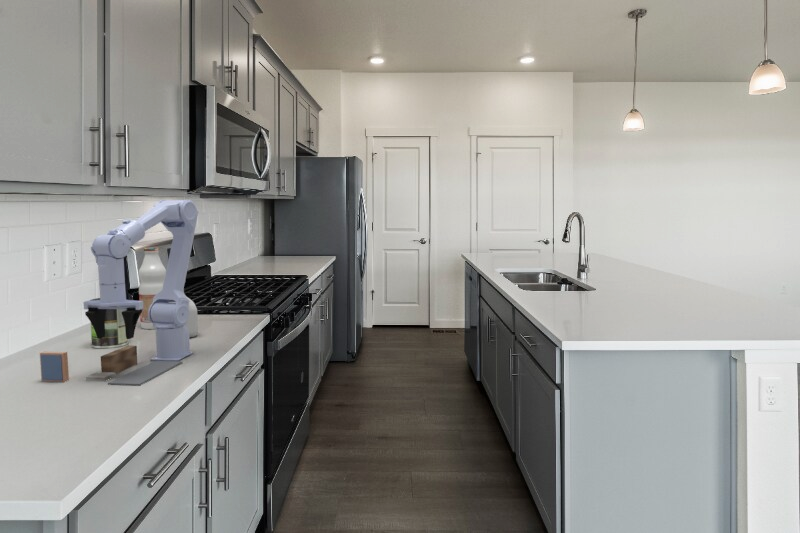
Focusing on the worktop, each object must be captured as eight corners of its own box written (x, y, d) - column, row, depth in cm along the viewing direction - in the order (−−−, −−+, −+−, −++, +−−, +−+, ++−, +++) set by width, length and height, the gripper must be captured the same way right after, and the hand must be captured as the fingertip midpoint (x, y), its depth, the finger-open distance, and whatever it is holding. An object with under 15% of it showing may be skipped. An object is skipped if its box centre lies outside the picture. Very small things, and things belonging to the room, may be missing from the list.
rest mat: (154, 362, 164) (154, 360, 164) (182, 362, 163) (182, 361, 163) (107, 384, 143) (107, 382, 143) (139, 385, 142) (139, 383, 142)
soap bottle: (189, 332, 203) (186, 265, 201) (200, 337, 196) (197, 267, 194) (160, 336, 197) (156, 266, 195) (170, 341, 190) (167, 269, 188)
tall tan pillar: (124, 363, 163) (123, 345, 162) (141, 364, 162) (141, 345, 162) (85, 380, 146) (84, 360, 146) (104, 381, 146) (103, 361, 145)
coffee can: (101, 350, 178) (99, 303, 177) (85, 345, 185) (82, 300, 183) (135, 344, 186) (132, 298, 185) (118, 339, 193) (116, 295, 191)
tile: (46, 379, 148) (44, 351, 147) (68, 380, 147) (67, 351, 147) (40, 381, 146) (38, 353, 146) (63, 382, 145) (62, 353, 145)
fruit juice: (148, 330, 207) (144, 248, 204) (136, 327, 213) (132, 247, 210) (174, 326, 214) (170, 247, 211) (161, 323, 220) (158, 246, 217)
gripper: (74, 285, 145) (77, 341, 147) (131, 285, 144) (134, 342, 145) (92, 281, 152) (95, 334, 154) (146, 282, 151) (149, 335, 152)
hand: (115, 338), depth 150 cm, fingers open, 7 cm apart
